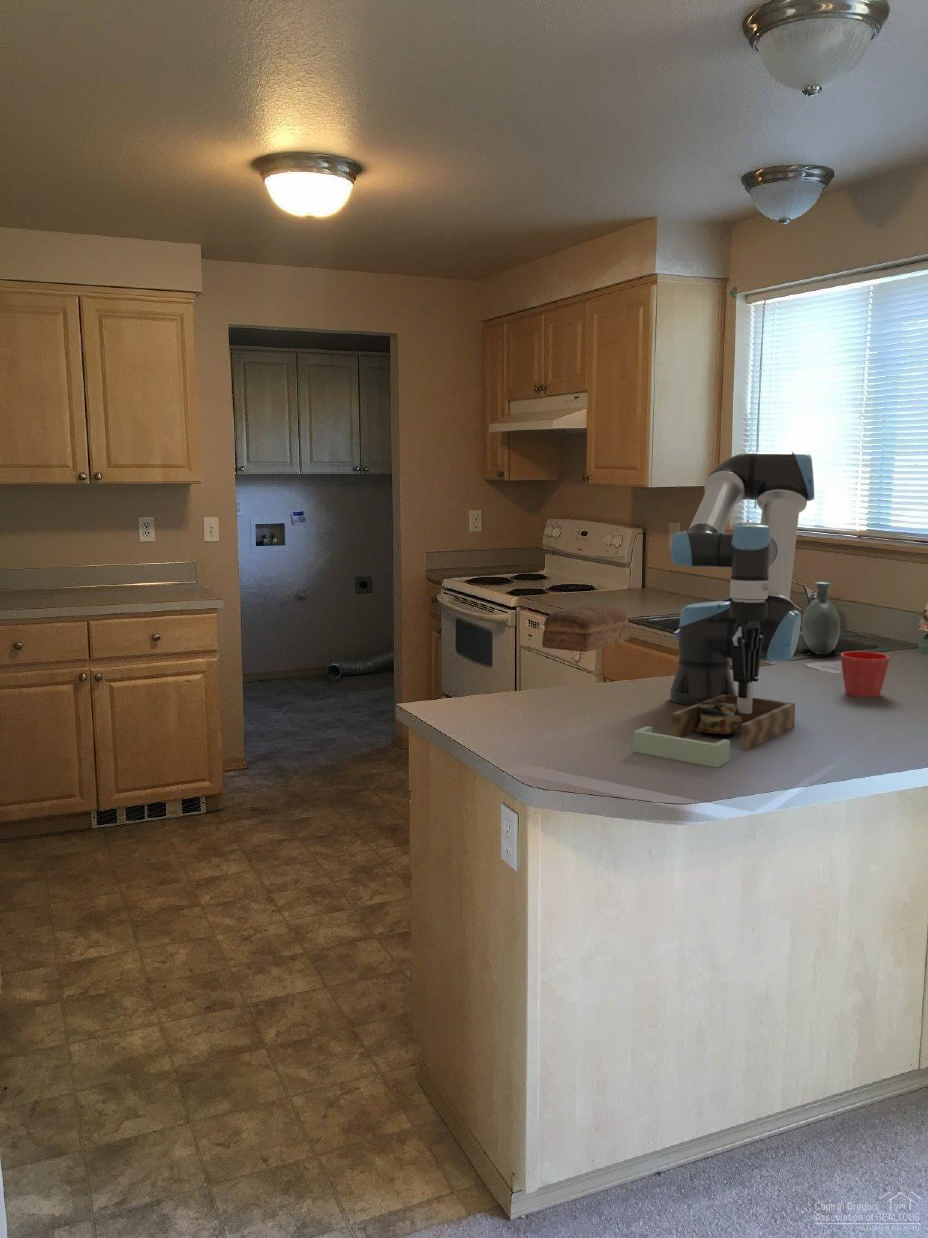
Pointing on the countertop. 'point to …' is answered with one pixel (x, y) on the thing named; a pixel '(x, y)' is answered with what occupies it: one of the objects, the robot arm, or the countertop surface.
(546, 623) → the bread
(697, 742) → the bracket
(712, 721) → the rock
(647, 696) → the countertop surface
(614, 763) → the countertop surface
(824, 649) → the flask
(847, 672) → the flower pot
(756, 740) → the cubby
